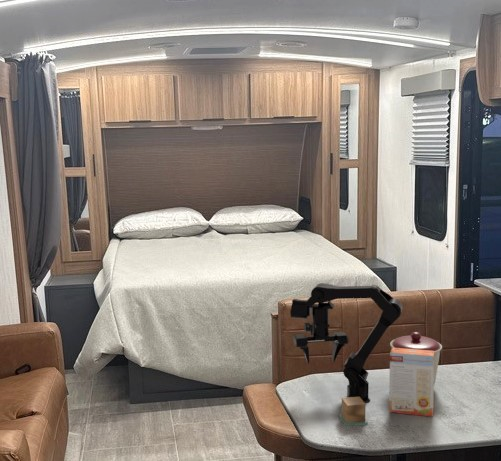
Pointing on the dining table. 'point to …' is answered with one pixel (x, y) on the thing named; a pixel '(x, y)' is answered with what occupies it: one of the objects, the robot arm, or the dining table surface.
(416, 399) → the cracker box
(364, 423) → the teal pad
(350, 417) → the walnut cube
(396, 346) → the canister
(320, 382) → the dining table surface
